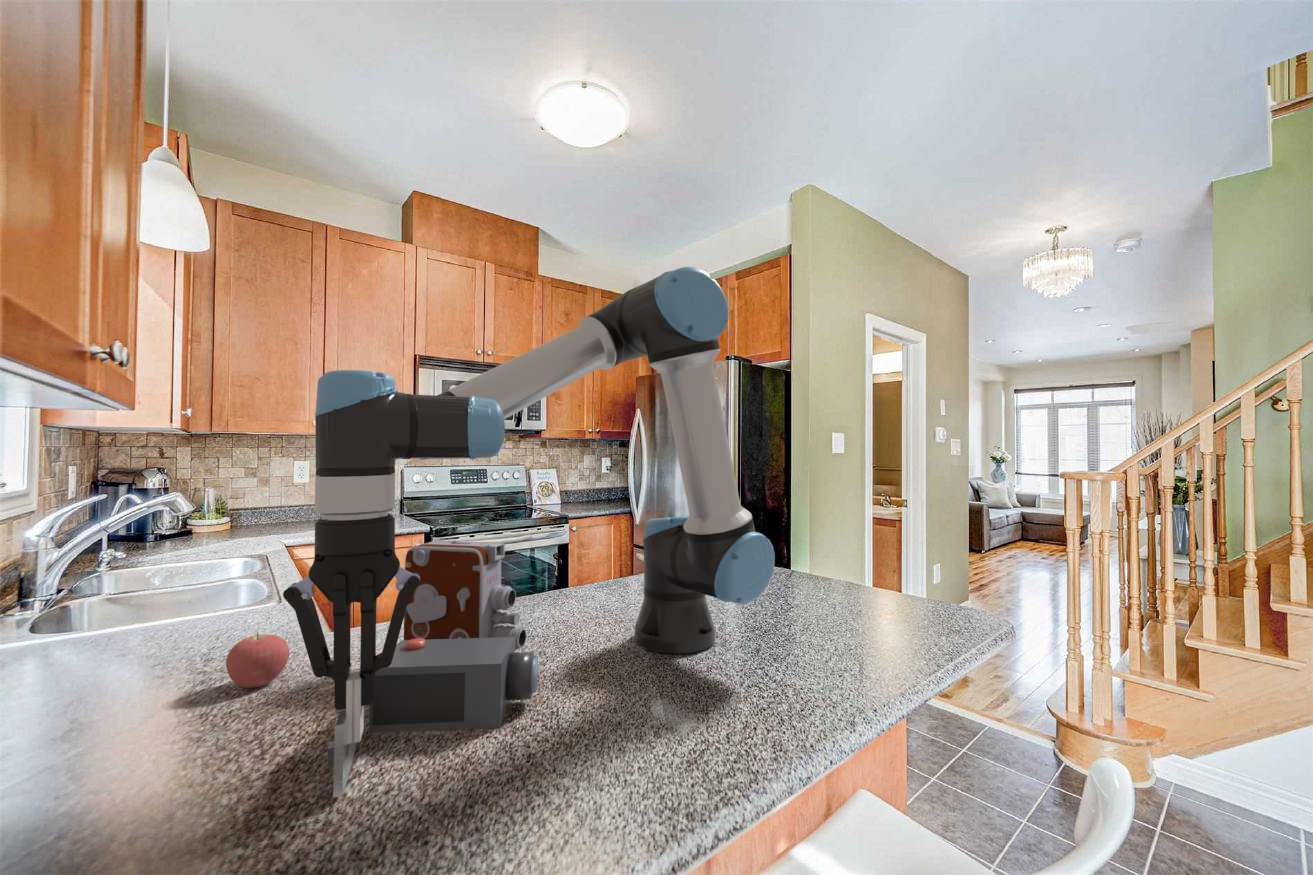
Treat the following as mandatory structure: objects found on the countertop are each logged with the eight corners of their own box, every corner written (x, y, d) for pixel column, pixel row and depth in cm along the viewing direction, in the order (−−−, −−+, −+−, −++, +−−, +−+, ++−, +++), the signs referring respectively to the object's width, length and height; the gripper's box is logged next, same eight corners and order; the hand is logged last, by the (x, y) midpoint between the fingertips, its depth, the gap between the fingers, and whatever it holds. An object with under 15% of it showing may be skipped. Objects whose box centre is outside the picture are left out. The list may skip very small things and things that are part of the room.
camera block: (539, 691, 77) (540, 630, 77) (529, 726, 67) (529, 656, 67) (400, 697, 75) (401, 634, 76) (368, 733, 65) (369, 661, 66)
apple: (213, 691, 77) (215, 636, 77) (265, 672, 84) (267, 621, 84) (247, 699, 75) (249, 642, 75) (298, 679, 81) (299, 626, 82)
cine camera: (506, 679, 81) (508, 549, 82) (395, 669, 85) (398, 544, 86) (532, 657, 90) (533, 540, 91) (431, 649, 94) (432, 536, 95)
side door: (346, 733, 64) (348, 673, 65) (364, 730, 65) (365, 671, 65) (324, 799, 52) (326, 725, 52) (346, 794, 53) (348, 721, 53)
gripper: (422, 508, 63) (421, 709, 62) (294, 514, 58) (292, 732, 57) (420, 515, 56) (419, 741, 55) (274, 522, 51) (272, 770, 50)
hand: (354, 736), depth 56 cm, fingers closed
